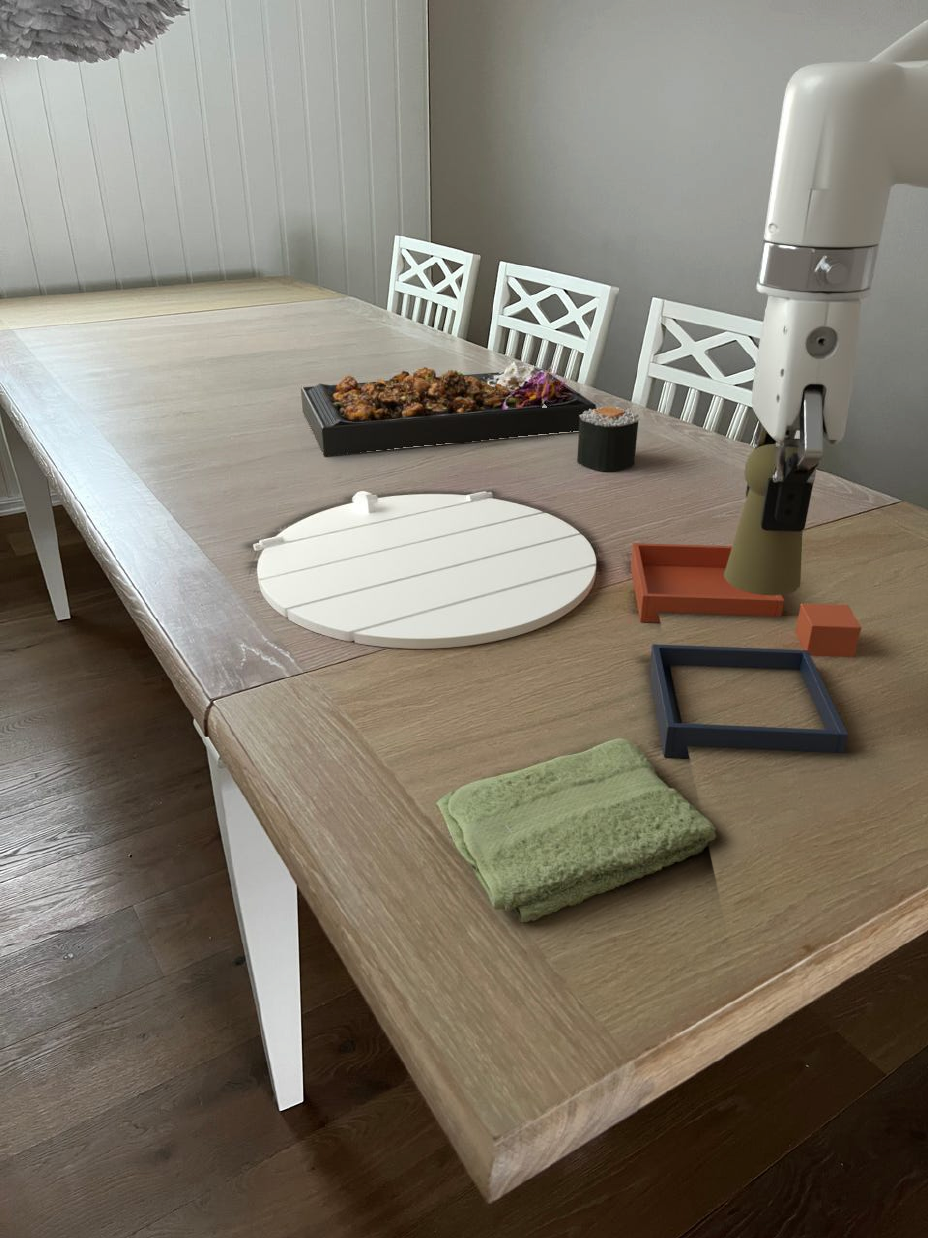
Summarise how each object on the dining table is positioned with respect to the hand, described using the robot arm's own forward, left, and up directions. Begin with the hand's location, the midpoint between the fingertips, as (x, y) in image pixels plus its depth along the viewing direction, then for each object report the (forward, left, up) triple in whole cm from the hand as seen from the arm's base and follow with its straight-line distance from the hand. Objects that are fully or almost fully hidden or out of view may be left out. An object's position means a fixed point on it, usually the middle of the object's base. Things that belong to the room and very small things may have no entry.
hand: (773, 512), depth 73 cm
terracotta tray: (0, -23, -19) cm, 29 cm away
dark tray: (0, 0, -19) cm, 19 cm away
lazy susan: (+31, -29, -19) cm, 46 cm away
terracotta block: (-10, -11, -19) cm, 24 cm away
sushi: (+8, -66, -19) cm, 69 cm away
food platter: (+35, -85, -19) cm, 93 cm away
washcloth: (+15, +17, -19) cm, 30 cm away
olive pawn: (0, 0, -6) cm, 6 cm away
